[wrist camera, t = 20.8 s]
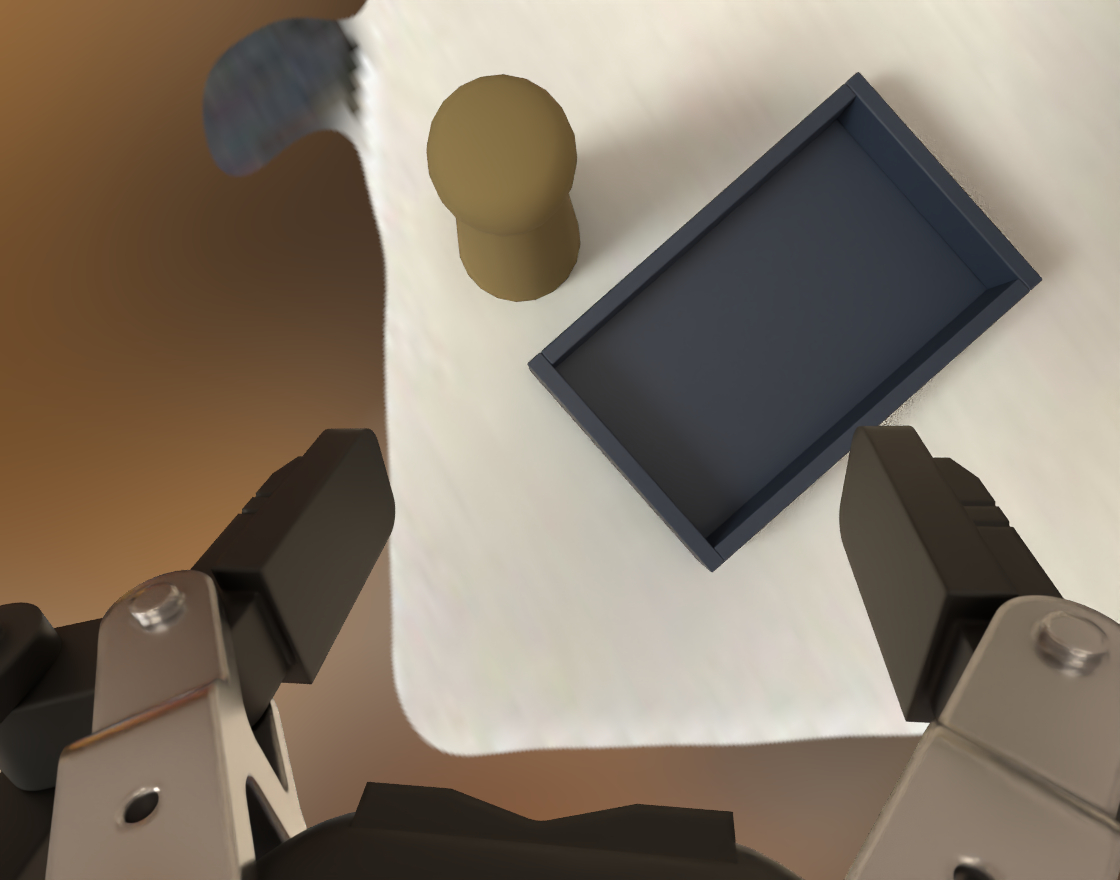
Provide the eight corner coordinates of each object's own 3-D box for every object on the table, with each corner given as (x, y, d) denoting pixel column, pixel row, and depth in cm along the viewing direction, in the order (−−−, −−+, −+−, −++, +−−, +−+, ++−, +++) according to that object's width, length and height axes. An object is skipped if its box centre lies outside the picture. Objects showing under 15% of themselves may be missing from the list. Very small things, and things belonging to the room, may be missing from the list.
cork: (605, 230, 32) (629, 119, 21) (528, 326, 32) (512, 265, 21) (509, 154, 32) (482, 2, 21) (433, 250, 32) (366, 149, 21)
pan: (833, 101, 32) (859, 70, 29) (1002, 293, 32) (1044, 279, 29) (529, 370, 32) (526, 363, 29) (699, 561, 32) (712, 573, 29)
